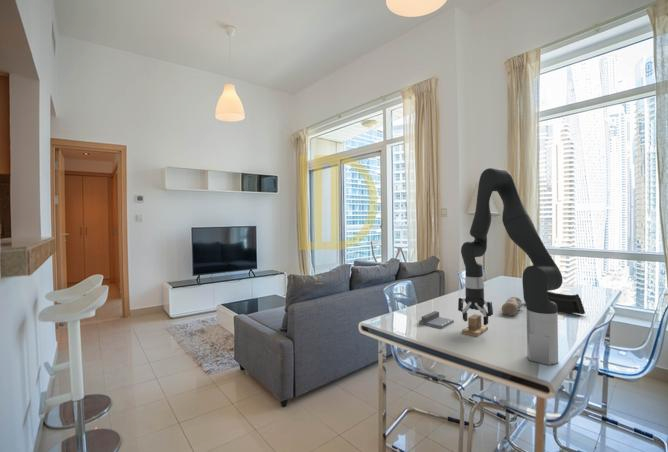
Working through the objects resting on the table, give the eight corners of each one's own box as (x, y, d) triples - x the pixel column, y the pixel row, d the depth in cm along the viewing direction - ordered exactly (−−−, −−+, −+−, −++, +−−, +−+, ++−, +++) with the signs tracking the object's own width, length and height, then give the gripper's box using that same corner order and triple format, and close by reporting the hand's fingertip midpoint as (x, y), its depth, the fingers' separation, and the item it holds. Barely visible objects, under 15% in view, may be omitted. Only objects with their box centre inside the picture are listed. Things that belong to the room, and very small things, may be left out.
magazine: (590, 299, 159) (533, 273, 185) (586, 299, 157) (530, 274, 183) (580, 329, 163) (526, 300, 189) (576, 330, 162) (522, 300, 188)
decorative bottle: (518, 317, 162) (517, 304, 162) (501, 315, 166) (501, 302, 166) (525, 305, 182) (525, 294, 182) (510, 304, 187) (510, 292, 187)
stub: (477, 336, 136) (477, 321, 136) (462, 333, 141) (461, 318, 141) (487, 329, 144) (487, 314, 144) (473, 326, 149) (472, 312, 149)
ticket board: (441, 328, 147) (441, 321, 147) (418, 323, 155) (418, 316, 155) (454, 322, 156) (454, 314, 156) (431, 317, 164) (431, 310, 164)
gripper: (455, 285, 145) (456, 321, 145) (488, 289, 134) (489, 328, 134) (462, 283, 150) (463, 318, 150) (494, 287, 140) (495, 324, 140)
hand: (475, 322), depth 142 cm, fingers open, 8 cm apart
